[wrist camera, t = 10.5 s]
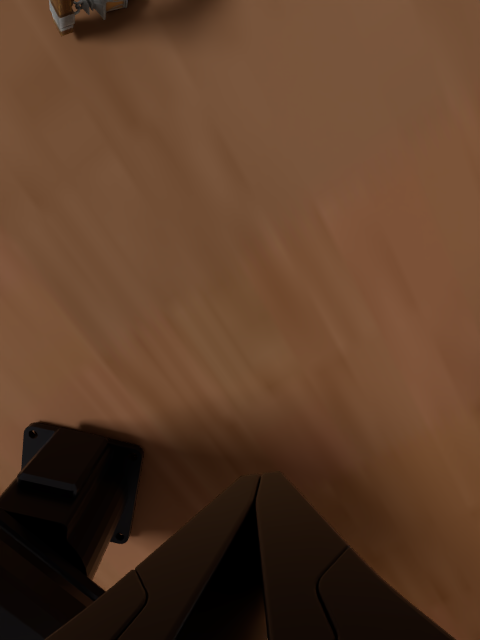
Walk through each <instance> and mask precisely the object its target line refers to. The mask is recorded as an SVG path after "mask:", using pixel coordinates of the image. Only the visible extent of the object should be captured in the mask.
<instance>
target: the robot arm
mask: <svg viewBox="0 0 480 640" xmlns="http://www.w3.org/2000/svg"><path fill="white" fill-rule="evenodd" d="M32 430H34V431H36V432H37V434H38V435H36V434H34V433H33V431H32ZM131 453H135V454H136V455H137V457H134V456H132V455H131ZM143 457H144V451H143V449H142V448H141V447H140V446H138V445H135V444H130V443H126V442H121V441H117V440H112V439H108V438H105V437H102V436H98V435H93V434H89V433H84V432H80V431H75V430H71V429H66V428H59V427H54V426H50V425H45V424H41V423H31V424H30V425H29V426H28V427H27V428H26V429H25V431H24V439H23V453H22V467H21V471H20V472H19V474H18V476H17V477H16V479H15V480H14V481H13V482H12V483H11V484H10V485H9V487H8V488H7V489H6V490H5V491H4V492H3V493H2V495H1V496H0V640H267V638H268V640H456V639H454V638H453V637H452V636H451V635H450V634H448V633H447V632H446V631H445V630H443V629H442V628H441V627H440V626H438V625H437V624H436V623H435V622H434V621H432V620H431V619H430V618H429V617H427V616H426V615H425V614H424V613H422V612H421V611H420V610H419V609H417V608H416V607H415V606H414V605H413V604H411V603H410V602H409V601H408V600H406V599H405V598H404V597H403V596H402V595H401V594H399V593H398V592H397V591H396V590H395V589H394V588H392V587H391V586H390V585H389V584H388V583H387V582H386V581H384V580H383V579H382V578H381V577H380V576H379V575H378V574H377V573H376V572H375V571H374V570H373V569H372V568H371V567H370V566H369V565H368V564H367V563H366V562H365V561H364V560H363V559H362V558H361V557H360V556H359V555H358V554H357V552H356V551H355V550H354V549H353V548H351V547H350V546H349V545H348V544H347V543H346V541H345V540H344V539H343V538H342V537H341V536H340V535H339V534H338V533H337V532H336V531H335V530H334V528H333V527H332V526H331V525H330V524H329V523H328V522H327V521H326V520H325V519H324V518H323V517H322V515H321V514H320V513H319V512H318V511H317V510H316V509H315V508H314V507H313V506H312V505H311V504H310V502H309V501H308V500H307V499H306V498H305V497H304V496H303V495H302V494H301V493H300V492H299V491H298V489H297V488H296V487H295V486H294V485H293V484H292V483H291V482H290V481H289V480H288V479H287V478H286V476H285V475H284V474H283V473H282V472H280V471H276V472H268V473H263V474H262V475H261V476H260V475H259V474H252V475H244V476H241V477H240V478H238V479H237V480H236V481H235V482H234V483H233V484H231V485H230V486H229V487H228V488H227V489H226V490H225V491H223V492H222V493H221V494H220V495H219V496H218V497H216V498H215V499H214V500H213V501H212V502H211V503H210V504H208V505H207V506H206V507H205V508H204V509H203V510H201V511H200V512H199V513H198V514H197V515H196V516H195V517H193V518H192V519H191V520H190V521H189V522H188V523H186V524H185V525H184V526H183V527H182V528H181V529H180V530H178V531H177V532H176V533H175V534H174V535H173V536H171V537H170V538H169V539H168V540H167V541H166V542H165V543H163V544H162V545H161V546H160V547H159V548H158V549H156V550H155V551H154V552H153V553H152V554H151V555H149V556H148V557H147V558H146V559H145V560H144V561H143V562H141V563H140V564H139V565H138V566H137V567H136V568H135V570H131V571H130V572H129V573H128V574H126V575H125V576H124V577H123V578H122V579H121V580H119V581H118V582H117V583H116V584H115V585H114V586H112V587H111V588H110V589H109V590H108V591H105V590H103V589H102V588H101V587H100V586H98V585H97V584H96V583H95V582H93V581H92V580H93V577H94V575H95V573H96V571H97V569H98V566H99V564H100V562H101V560H102V557H103V555H104V553H105V551H106V549H107V546H108V544H109V542H114V543H118V544H123V543H126V542H127V541H128V538H129V536H130V533H131V527H132V521H133V515H134V509H135V504H136V498H137V492H138V486H139V480H140V474H141V468H142V463H143ZM119 533H121V534H123V535H120V534H119Z"/></svg>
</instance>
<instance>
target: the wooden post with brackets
mask: <svg viewBox="0 0 480 640" xmlns="http://www.w3.org/2000/svg"><path fill="white" fill-rule="evenodd" d="M73 3H74V4H76V5H75V7H76V9H78V10H77V11H76V12H74V11H73V9H72V5H73ZM49 4H50V11H51V12H52V16H53V21H54V23H55V25H56V27H57V29H58V31H59V33H60V35H61V36H64V35H66V34H69V33H72V32H73V24H75V15H76V14H78V13H79V12H80V9H84V10H85V12H86V13H87V14H88V15H90V13H89V7H90V8H91V10H92V11H93V9H95V10H96V11H97V12H98V13H99V14H100V15H101V17H102V18H103V20H105V19H106V12H108V11H112V10H116V9H120V8H126V7H127V5H128V0H80V1H79V2H75V1H74V0H49ZM79 4H81V7H80V6H79Z"/></svg>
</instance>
